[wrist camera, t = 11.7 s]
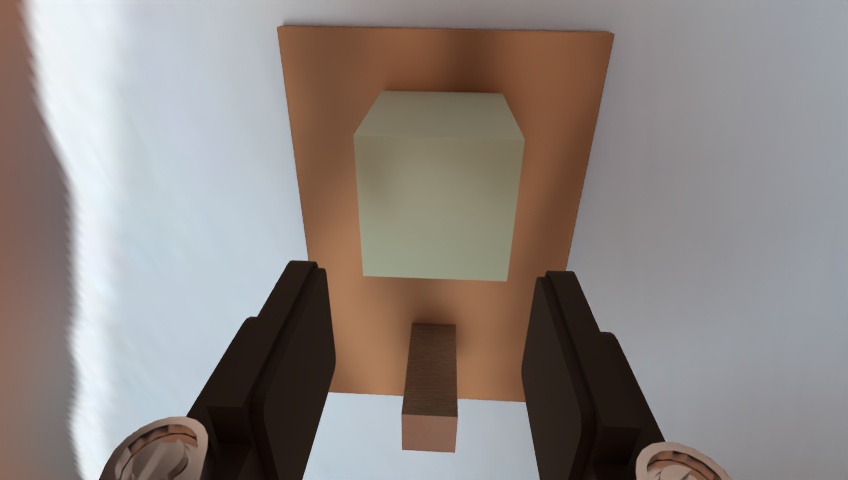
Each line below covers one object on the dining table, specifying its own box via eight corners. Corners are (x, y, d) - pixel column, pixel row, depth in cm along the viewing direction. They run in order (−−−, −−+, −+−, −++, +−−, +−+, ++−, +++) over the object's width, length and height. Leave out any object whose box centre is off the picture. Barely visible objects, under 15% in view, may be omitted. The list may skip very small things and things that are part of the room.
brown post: (455, 324, 26) (457, 417, 21) (453, 356, 28) (454, 452, 22) (411, 322, 26) (401, 414, 21) (411, 354, 28) (402, 449, 22)
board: (608, 32, 19) (614, 34, 18) (536, 392, 30) (538, 402, 29) (283, 25, 19) (277, 27, 19) (329, 382, 30) (326, 391, 30)
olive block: (502, 93, 19) (524, 139, 13) (491, 203, 22) (507, 281, 16) (381, 90, 19) (353, 135, 14) (385, 199, 22) (363, 275, 16)
